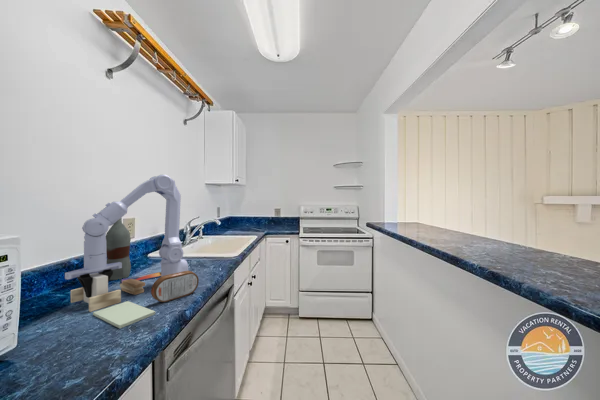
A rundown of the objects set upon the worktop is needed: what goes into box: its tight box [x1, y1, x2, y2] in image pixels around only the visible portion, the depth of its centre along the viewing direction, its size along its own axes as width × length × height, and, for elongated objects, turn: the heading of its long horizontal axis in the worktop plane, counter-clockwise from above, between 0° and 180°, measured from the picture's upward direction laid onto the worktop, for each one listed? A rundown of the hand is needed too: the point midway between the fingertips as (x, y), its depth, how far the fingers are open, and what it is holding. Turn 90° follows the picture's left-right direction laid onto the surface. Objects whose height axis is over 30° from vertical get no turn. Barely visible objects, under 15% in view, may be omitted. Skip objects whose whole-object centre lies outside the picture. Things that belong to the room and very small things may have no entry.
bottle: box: [106, 217, 132, 281], centre depth 106 cm, size 9×9×30 cm
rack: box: [70, 286, 122, 313], centre depth 78 cm, size 8×15×4 cm, turn 60°
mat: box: [92, 300, 156, 329], centre depth 69 cm, size 9×16×1 cm, turn 60°
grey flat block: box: [83, 273, 109, 304], centre depth 78 cm, size 3×10×9 cm, turn 61°
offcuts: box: [119, 279, 146, 296], centre depth 88 cm, size 3×11×4 cm, turn 61°
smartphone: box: [120, 271, 161, 284], centre depth 103 cm, size 7×15×1 cm, turn 128°
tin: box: [150, 270, 200, 303], centre depth 81 cm, size 15×3×8 cm, turn 141°
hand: (95, 294), depth 78 cm, fingers closed on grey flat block, 3 cm apart
